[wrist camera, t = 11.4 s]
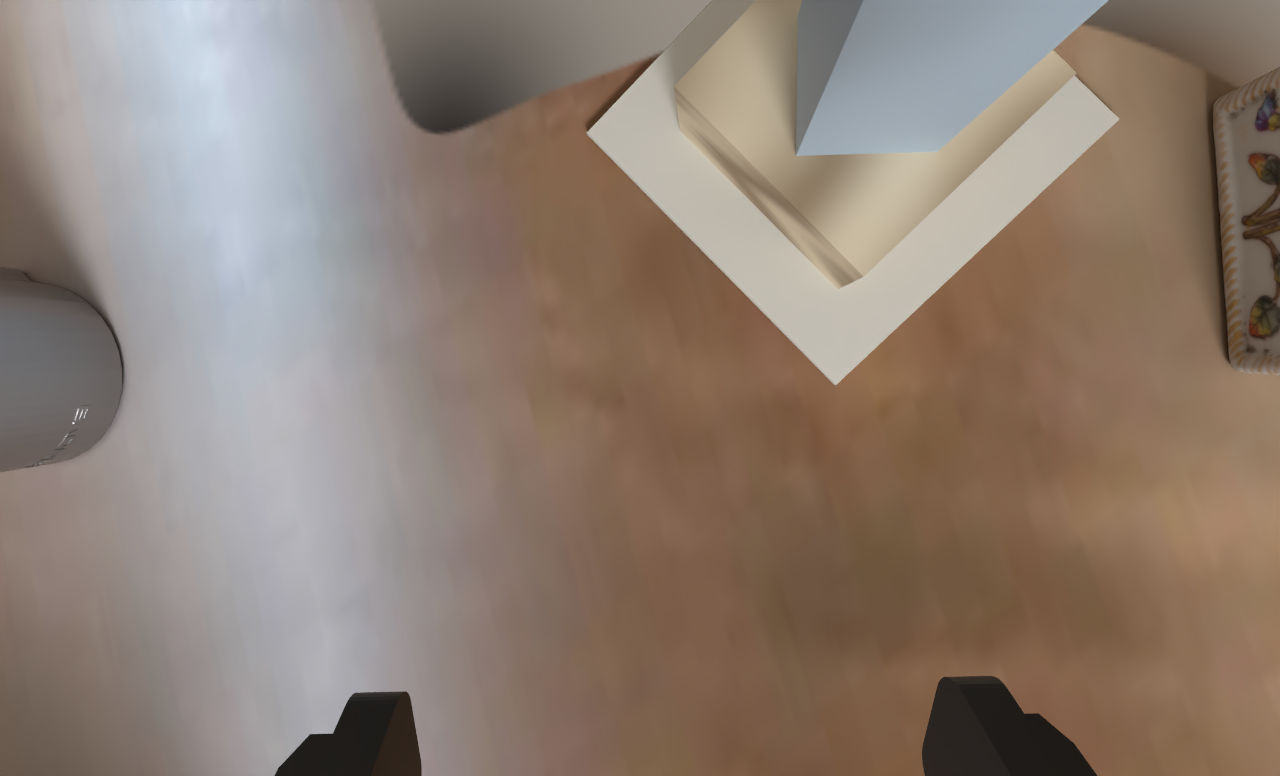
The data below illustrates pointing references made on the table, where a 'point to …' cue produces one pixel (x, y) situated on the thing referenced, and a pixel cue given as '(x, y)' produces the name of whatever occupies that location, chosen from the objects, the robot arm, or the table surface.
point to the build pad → (771, 265)
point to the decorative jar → (1250, 220)
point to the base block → (829, 184)
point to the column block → (914, 67)
